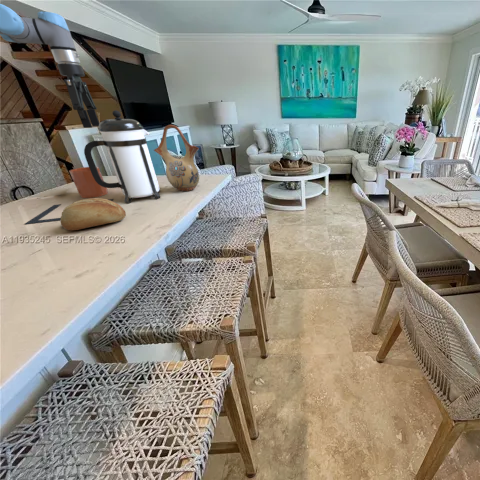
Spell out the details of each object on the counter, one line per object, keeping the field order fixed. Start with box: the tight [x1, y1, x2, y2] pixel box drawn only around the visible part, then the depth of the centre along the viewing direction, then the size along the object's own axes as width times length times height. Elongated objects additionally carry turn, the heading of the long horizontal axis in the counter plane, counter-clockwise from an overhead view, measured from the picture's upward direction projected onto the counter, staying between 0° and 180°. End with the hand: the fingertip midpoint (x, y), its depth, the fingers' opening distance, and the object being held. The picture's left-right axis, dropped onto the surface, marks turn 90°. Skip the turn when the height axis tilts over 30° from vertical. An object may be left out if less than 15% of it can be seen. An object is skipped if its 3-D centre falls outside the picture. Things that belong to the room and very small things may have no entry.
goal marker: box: [24, 198, 114, 225], centre depth 89 cm, size 18×18×1 cm
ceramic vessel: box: [153, 124, 200, 192], centre depth 104 cm, size 16×9×25 cm, turn 99°
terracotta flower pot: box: [68, 166, 109, 199], centre depth 103 cm, size 9×9×10 cm
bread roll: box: [59, 197, 127, 231], centre depth 76 cm, size 10×15×8 cm, turn 125°
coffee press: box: [83, 109, 161, 204], centre depth 94 cm, size 17×16×30 cm
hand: (92, 126), depth 113 cm, fingers open, 9 cm apart
